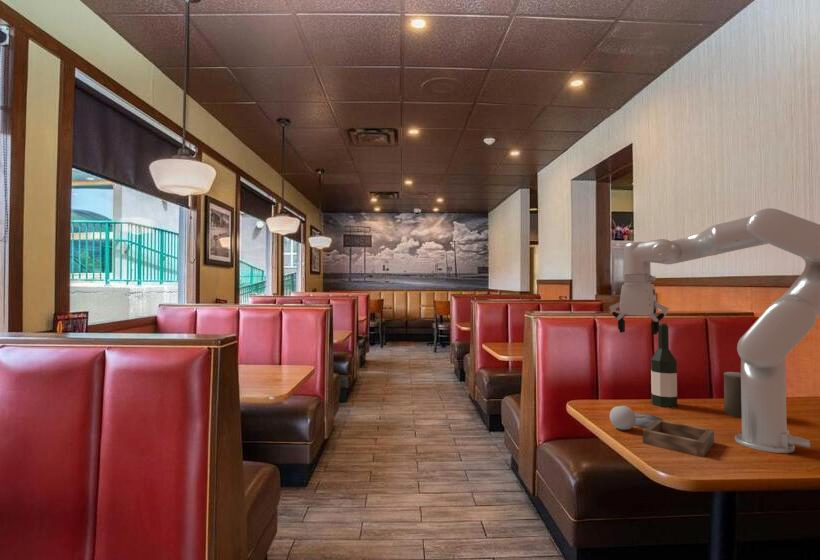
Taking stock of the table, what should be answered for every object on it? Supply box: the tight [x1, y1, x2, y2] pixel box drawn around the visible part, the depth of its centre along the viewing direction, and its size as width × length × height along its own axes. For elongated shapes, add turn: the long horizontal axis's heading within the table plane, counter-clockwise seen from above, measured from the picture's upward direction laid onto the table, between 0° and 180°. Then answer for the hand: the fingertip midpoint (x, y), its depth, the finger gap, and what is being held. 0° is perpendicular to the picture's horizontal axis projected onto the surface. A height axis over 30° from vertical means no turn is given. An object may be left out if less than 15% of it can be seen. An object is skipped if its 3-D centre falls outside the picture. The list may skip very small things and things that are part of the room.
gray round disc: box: [633, 412, 663, 428], centre depth 138 cm, size 14×14×1 cm
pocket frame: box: [642, 419, 715, 458], centre depth 118 cm, size 14×14×4 cm
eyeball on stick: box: [609, 404, 646, 431], centre depth 131 cm, size 7×7×15 cm
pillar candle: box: [723, 371, 742, 419], centre depth 144 cm, size 10×10×15 cm
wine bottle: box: [650, 322, 678, 409], centre depth 156 cm, size 8×8×30 cm
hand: (638, 333), depth 138 cm, fingers open, 9 cm apart
